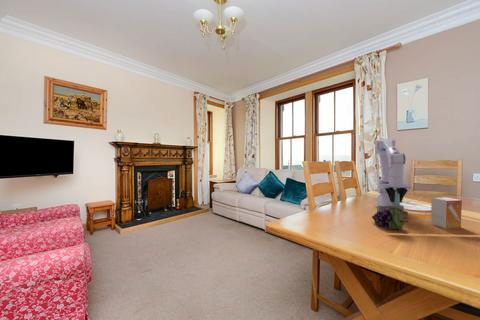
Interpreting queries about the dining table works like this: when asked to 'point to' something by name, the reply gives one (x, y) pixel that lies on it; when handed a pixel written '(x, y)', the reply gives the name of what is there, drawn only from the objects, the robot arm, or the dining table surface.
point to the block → (404, 213)
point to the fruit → (389, 219)
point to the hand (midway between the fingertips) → (395, 202)
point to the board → (382, 207)
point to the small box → (446, 212)
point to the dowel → (396, 199)
